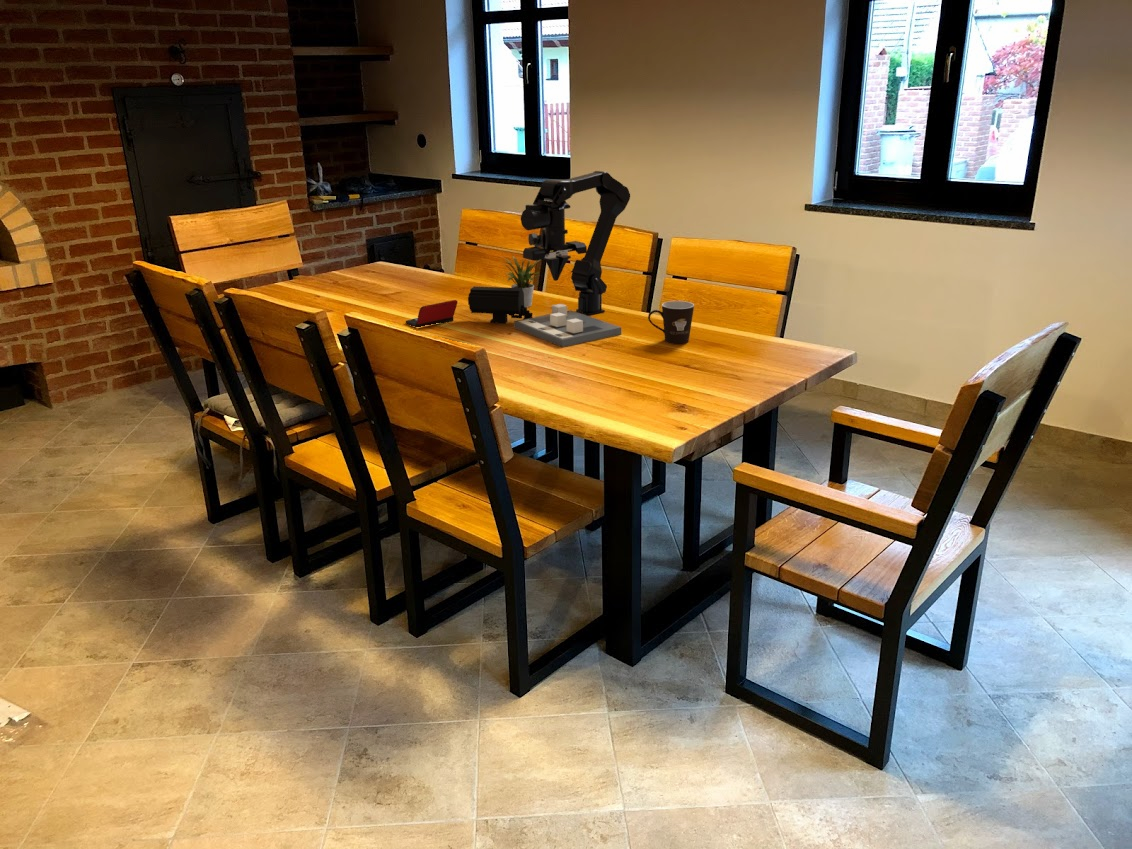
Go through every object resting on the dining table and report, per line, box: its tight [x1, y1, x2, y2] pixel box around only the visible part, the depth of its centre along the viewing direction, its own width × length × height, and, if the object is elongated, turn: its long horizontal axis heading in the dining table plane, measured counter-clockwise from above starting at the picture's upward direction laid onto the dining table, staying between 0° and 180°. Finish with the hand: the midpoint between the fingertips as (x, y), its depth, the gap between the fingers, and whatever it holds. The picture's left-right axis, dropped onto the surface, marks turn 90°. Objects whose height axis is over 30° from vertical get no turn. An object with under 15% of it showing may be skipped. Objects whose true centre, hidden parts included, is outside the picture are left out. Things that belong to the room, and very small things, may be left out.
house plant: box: [501, 255, 541, 308], centre depth 281 cm, size 14×14×16 cm
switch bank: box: [513, 309, 622, 348], centre depth 256 cm, size 20×24×2 cm
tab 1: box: [551, 303, 568, 316], centre depth 263 cm, size 3×3×3 cm
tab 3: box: [567, 318, 583, 333], centre depth 247 cm, size 3×3×3 cm
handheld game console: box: [405, 299, 458, 327], centre depth 264 cm, size 12×11×7 cm
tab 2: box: [549, 312, 566, 327], centre depth 253 cm, size 3×3×3 cm
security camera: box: [467, 285, 533, 325], centre depth 264 cm, size 7×18×10 cm, turn 79°
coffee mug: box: [647, 300, 695, 345], centre depth 244 cm, size 12×9×10 cm
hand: (555, 280), depth 262 cm, fingers closed
